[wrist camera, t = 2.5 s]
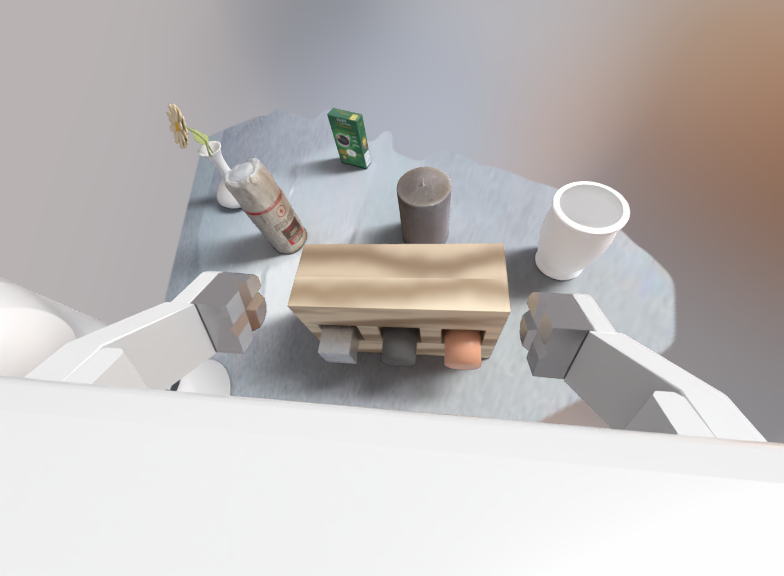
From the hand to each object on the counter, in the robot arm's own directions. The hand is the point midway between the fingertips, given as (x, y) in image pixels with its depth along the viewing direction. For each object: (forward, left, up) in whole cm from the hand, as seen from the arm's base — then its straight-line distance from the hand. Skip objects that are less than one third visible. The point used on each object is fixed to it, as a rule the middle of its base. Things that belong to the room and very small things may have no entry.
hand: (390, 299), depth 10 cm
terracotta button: (+12, -2, -38) cm, 40 cm away
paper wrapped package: (+28, +41, -45) cm, 67 cm away
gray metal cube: (+7, +16, -38) cm, 42 cm away
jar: (+37, -14, -45) cm, 60 cm away
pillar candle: (+37, +12, -45) cm, 59 cm away
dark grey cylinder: (+10, +7, -38) cm, 40 cm away
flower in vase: (+37, +60, -45) cm, 84 cm away
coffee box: (+55, +36, -45) cm, 80 cm away
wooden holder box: (+16, +9, -45) cm, 48 cm away
